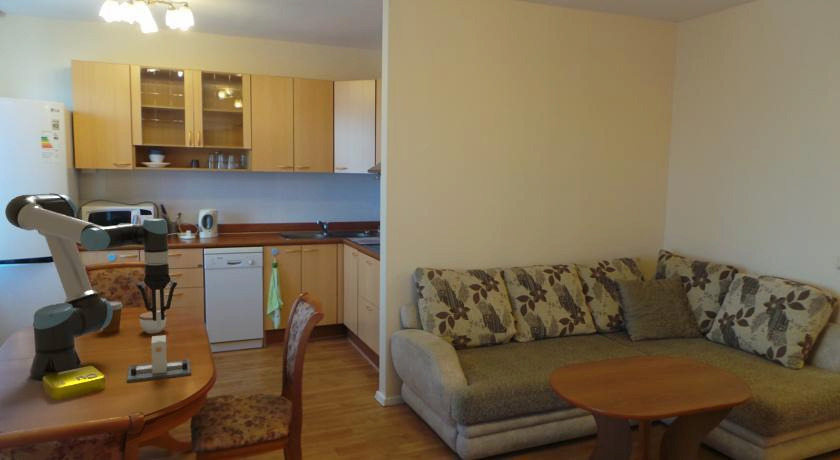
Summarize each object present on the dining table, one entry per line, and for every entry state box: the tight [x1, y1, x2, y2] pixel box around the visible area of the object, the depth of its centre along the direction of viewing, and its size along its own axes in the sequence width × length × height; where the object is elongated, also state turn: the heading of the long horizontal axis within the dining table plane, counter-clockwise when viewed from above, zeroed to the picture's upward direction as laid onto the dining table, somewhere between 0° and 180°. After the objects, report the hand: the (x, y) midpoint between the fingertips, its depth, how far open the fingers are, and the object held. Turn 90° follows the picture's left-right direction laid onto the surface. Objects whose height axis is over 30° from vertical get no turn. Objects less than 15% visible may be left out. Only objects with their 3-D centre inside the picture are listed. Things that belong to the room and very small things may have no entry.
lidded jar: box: [139, 311, 168, 335], centre depth 248 cm, size 11×11×9 cm
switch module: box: [150, 334, 168, 374], centre depth 200 cm, size 9×4×11 cm, turn 24°
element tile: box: [42, 365, 106, 401], centre depth 185 cm, size 15×15×5 cm
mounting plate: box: [126, 358, 192, 383], centre depth 201 cm, size 20×14×3 cm
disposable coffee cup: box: [102, 300, 123, 333], centre depth 248 cm, size 10×10×12 cm
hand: (159, 329), depth 199 cm, fingers closed
